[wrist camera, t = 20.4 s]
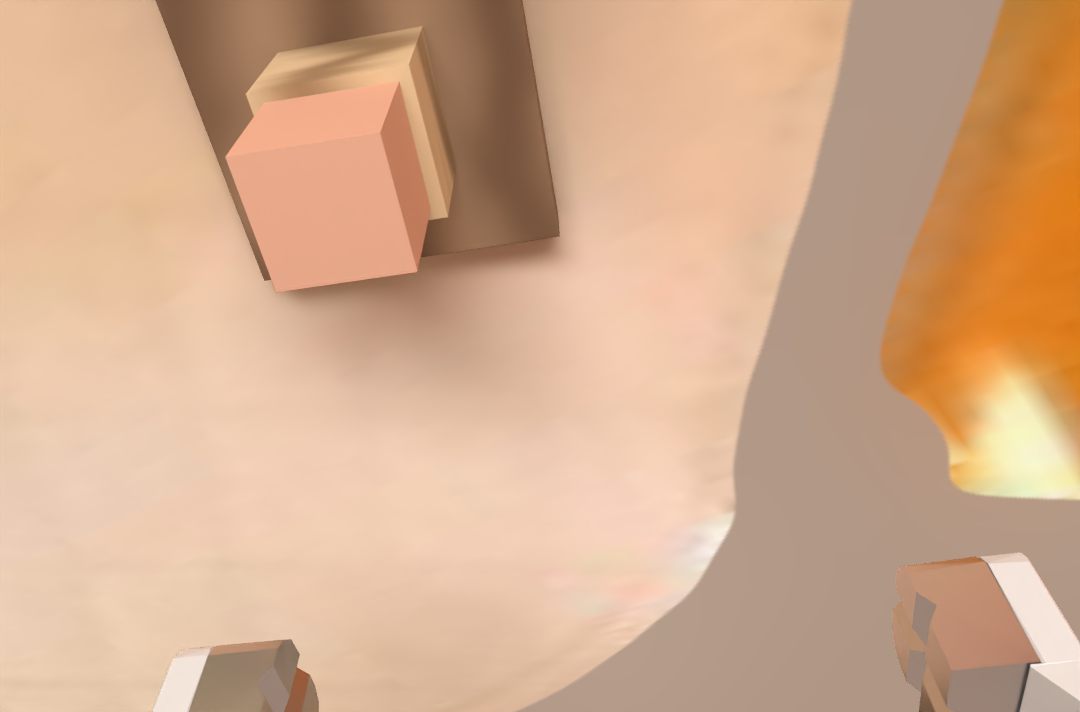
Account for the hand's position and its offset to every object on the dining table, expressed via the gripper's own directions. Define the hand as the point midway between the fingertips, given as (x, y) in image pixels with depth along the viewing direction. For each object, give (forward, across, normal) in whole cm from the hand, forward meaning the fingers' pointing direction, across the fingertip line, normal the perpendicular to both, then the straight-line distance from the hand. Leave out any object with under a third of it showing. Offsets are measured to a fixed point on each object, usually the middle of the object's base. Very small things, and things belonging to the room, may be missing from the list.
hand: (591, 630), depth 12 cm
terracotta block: (+24, +8, +2) cm, 25 cm away
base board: (+31, +8, +2) cm, 32 cm away
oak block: (+29, +8, +2) cm, 30 cm away
